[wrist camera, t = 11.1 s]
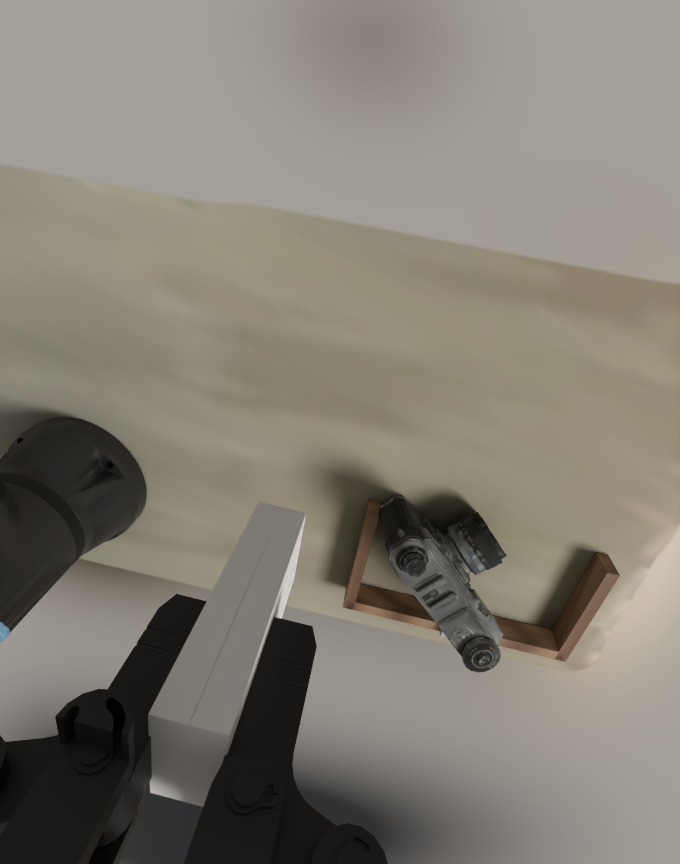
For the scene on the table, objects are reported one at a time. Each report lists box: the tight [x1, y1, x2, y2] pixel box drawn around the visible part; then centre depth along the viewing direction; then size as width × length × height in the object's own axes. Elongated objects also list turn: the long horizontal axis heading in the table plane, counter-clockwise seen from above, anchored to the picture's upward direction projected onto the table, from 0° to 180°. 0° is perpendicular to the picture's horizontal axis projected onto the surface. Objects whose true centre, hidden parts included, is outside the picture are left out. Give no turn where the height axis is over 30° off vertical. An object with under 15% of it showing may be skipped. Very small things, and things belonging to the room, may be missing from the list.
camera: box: [379, 495, 506, 672], centre depth 45 cm, size 18×9×10 cm, turn 35°
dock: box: [343, 499, 620, 662], centre depth 49 cm, size 25×13×4 cm, turn 79°
